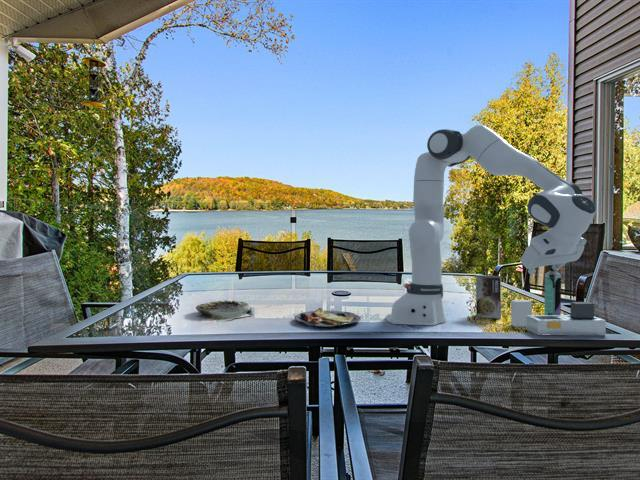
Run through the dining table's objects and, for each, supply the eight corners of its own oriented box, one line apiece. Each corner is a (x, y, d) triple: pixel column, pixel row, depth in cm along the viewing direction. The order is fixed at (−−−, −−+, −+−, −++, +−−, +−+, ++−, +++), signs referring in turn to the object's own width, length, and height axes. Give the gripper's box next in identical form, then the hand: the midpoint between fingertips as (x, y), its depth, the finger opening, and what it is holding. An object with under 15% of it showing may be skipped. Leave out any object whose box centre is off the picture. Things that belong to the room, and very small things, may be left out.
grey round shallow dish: (205, 325, 157) (205, 312, 157) (176, 315, 177) (175, 303, 177) (268, 314, 175) (268, 303, 175) (235, 306, 196) (234, 295, 196)
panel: (514, 326, 151) (514, 301, 151) (511, 324, 154) (511, 300, 154) (531, 326, 151) (531, 301, 151) (527, 324, 154) (527, 300, 154)
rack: (538, 335, 138) (538, 305, 138) (526, 329, 147) (526, 300, 146) (606, 335, 138) (606, 305, 138) (590, 329, 146) (590, 300, 146)
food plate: (282, 321, 161) (282, 312, 160) (323, 312, 178) (323, 304, 178) (331, 334, 144) (332, 324, 143) (372, 323, 161) (372, 314, 161)
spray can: (562, 321, 158) (563, 268, 157) (546, 321, 159) (547, 268, 159) (557, 318, 164) (558, 267, 163) (542, 317, 165) (543, 266, 164)
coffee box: (501, 316, 169) (501, 275, 168) (500, 319, 163) (501, 277, 162) (477, 314, 173) (477, 274, 172) (475, 317, 167) (475, 276, 166)
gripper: (581, 230, 138) (563, 260, 147) (527, 238, 133) (511, 268, 143) (595, 243, 133) (575, 273, 143) (539, 252, 129) (522, 282, 139)
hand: (542, 271), depth 143 cm, fingers open, 8 cm apart
